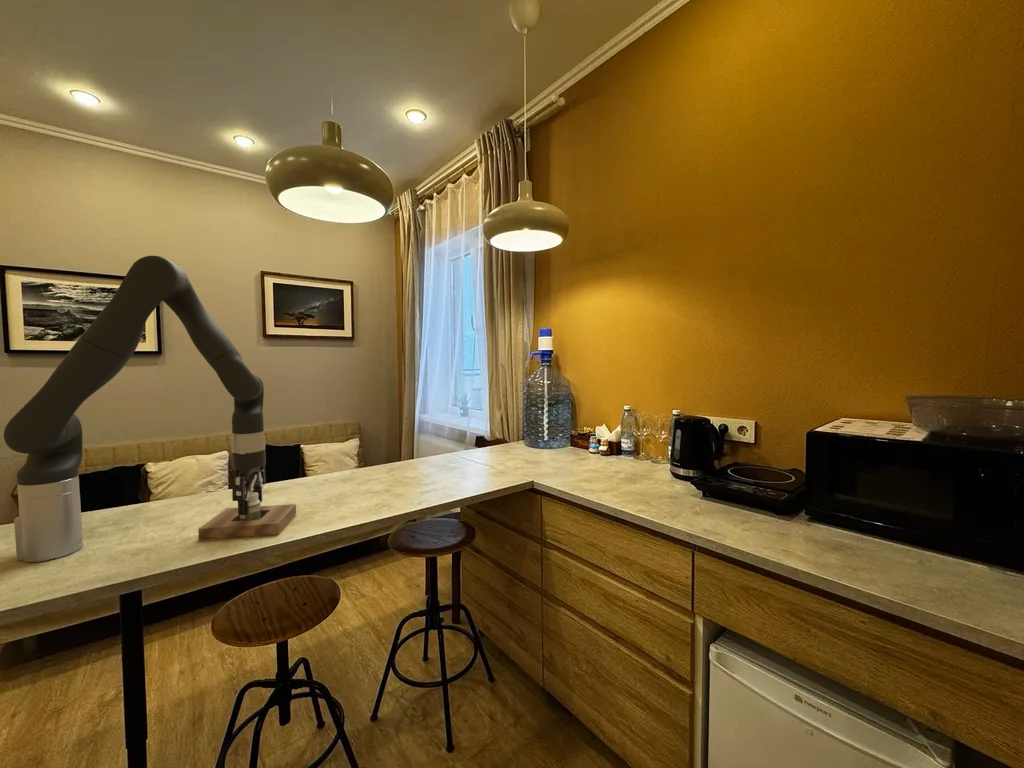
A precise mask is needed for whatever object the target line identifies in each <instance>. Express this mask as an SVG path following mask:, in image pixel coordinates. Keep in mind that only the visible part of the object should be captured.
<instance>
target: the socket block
mask: <svg viewBox="0 0 1024 768" xmlns="http://www.w3.org/2000/svg"><path fill="white" fill-rule="evenodd" d="M260 509H261V519H260V520H247V521H240V515H239V514H238V507H226V508H225V509H223V510H222V511H220V512H219V513H218V514H216V515H215V516H214V517H213V518H211V519H209V521H207V522H205V523H204V524H203V525H201V527H199V528H198V541H199V540H201V541H211V540H210V539H215V540H224V539H223V538H228V539H237V538H236V537H242V538H251V537H250V536H256V537H264V536H263V535H269V536H279V535H280V534H281V532H282V531H283V530H284V529H286V527H287V525H288V524H289V523H290V522H291V521H292V520H293V519H294V518H295V516H296V515H297V504H295V503H294V504H291V503H290V504H278V505H277V504H274V505H262V506H261V505H260ZM295 514H296V515H295ZM292 518H293V519H292ZM291 519H292V520H291Z"/></svg>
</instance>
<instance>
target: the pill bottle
mask: <svg viewBox="0 0 1024 768" xmlns="http://www.w3.org/2000/svg"><path fill="white" fill-rule="evenodd" d="M245 494H246V492H245ZM248 500H249V513H248V514H247V515H240V521H247V520H260V519H261V509H260V506H261V503H260V500H258V493H257V492H250V494H249V498H248Z"/></svg>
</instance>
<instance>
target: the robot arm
mask: <svg viewBox="0 0 1024 768" xmlns="http://www.w3.org/2000/svg"><path fill="white" fill-rule="evenodd" d="M188 276H189V275H188V274H187V272H186V271H185V270H184V269H183V268H182V267H181V266H180V265H179V264H177V263H175V262H173V261H171V260H170V259H167V258H166V257H162V256H159V255H147V256H146V255H145V256H143V257H140V258H139V259H137V260H136V261H134V263H133V264H132V265H131V266H130V268H129V269H128V271H127V273H126V275H125V276H124V278H123V280H122V282H121V283H120V285H119V286H118V289H117V290H116V292H115V293H114V295H113V296H112V297H111V299H110V301H109V302H108V303H107V304H106V305H105V307H104V308H103V309H102V310H101V311H100V312H99V314H98V315H97V316H96V317H95V319H94V320H93V321H92V322H91V324H90V325H89V326H88V327H87V329H86V330H84V332H83V333H81V335H80V337H78V339H77V341H76V342H75V343H74V345H73V346H72V347H71V349H70V350H69V351H68V352H67V354H66V355H65V357H64V358H63V359H62V360H61V362H60V363H59V365H58V366H57V367H56V368H55V370H54V371H53V372H52V373H51V375H50V376H49V378H48V379H47V380H46V382H45V383H44V384H43V386H42V387H40V389H39V390H38V391H37V392H36V393H35V394H34V395H33V397H32V398H30V400H29V401H28V402H27V403H25V405H24V406H23V407H21V409H19V411H17V413H15V414H14V415H13V416H12V418H10V420H9V421H7V424H6V426H5V428H4V430H3V439H4V443H5V445H6V446H7V447H8V448H9V449H10V450H12V451H14V452H16V453H19V454H27V455H28V457H27V460H26V462H25V463H24V464H23V466H22V467H21V468H19V470H18V471H17V473H16V483H17V496H18V497H17V501H18V514H19V516H16V517H15V518H14V519H13V524H14V525H13V526H14V540H15V541H14V542H15V551H16V553H15V554H16V561H23V562H24V563H25V562H26V563H38V562H44V561H49V560H50V559H51V560H54V558H55V559H59V558H61V557H64V556H68V555H71V554H74V553H75V552H77V551H79V550H81V549H82V548H83V547H84V542H83V541H84V540H83V525H82V523H83V522H82V509H81V507H82V506H81V505H82V504H81V493H80V478H79V477H80V476H79V475H80V473H79V469H80V466H81V464H82V461H83V427H82V424H81V421H80V419H79V417H78V416H77V415H76V412H77V410H78V409H79V408H80V406H81V405H82V404H83V403H84V402H85V401H86V400H88V398H89V397H91V396H92V395H93V394H95V393H96V392H97V391H99V390H100V389H101V388H103V387H104V386H105V385H106V384H108V383H109V382H110V381H111V380H113V379H114V378H115V377H116V376H117V375H118V374H119V372H120V371H122V369H123V368H124V367H125V365H126V364H127V363H128V361H130V359H131V358H132V356H133V354H134V353H135V352H136V349H137V348H138V346H139V343H140V341H141V338H142V334H143V331H144V328H145V325H146V323H147V320H148V318H149V317H150V315H151V314H152V313H153V312H154V311H155V310H156V308H157V307H158V306H159V305H160V304H161V302H163V303H165V305H167V307H168V308H170V310H171V311H172V312H173V313H174V314H175V315H176V316H177V318H178V319H179V320H180V322H181V323H182V325H183V327H184V328H185V330H186V332H187V334H188V336H189V337H190V340H191V341H192V343H193V345H194V347H195V348H196V349H197V351H198V352H199V353H200V354H201V356H202V357H203V358H204V360H205V361H206V362H207V364H208V365H209V366H210V367H211V368H212V369H213V370H214V372H215V373H216V375H217V376H218V378H219V380H220V381H221V383H222V385H223V386H224V388H225V389H226V391H227V392H228V393H229V395H230V396H232V397H233V402H234V403H233V407H234V408H233V409H234V410H233V413H232V415H231V433H232V434H231V467H232V469H234V470H238V471H239V472H238V476H234V477H232V479H231V482H232V483H231V484H232V486H231V489H232V490H231V491H232V502H237V508H238V514H239V515H247V514H248V513H249V500H248V498H249V494H250V492H257V493H258V500H260V504H261V503H262V502H263V489H264V485H266V482H267V480H266V463H267V459H266V458H267V456H266V455H267V454H266V437H265V429H264V426H265V425H264V415H263V414H264V410H263V408H264V394H265V391H264V383H263V380H262V378H261V377H259V376H258V375H256V374H254V373H252V372H251V370H250V369H249V368H248V366H247V365H246V364H245V363H244V361H243V357H242V355H241V354H240V352H239V351H238V349H237V348H236V346H235V345H234V344H233V343H232V342H231V340H230V339H229V337H228V336H227V335H226V334H225V332H224V331H223V330H222V329H221V327H220V326H219V324H218V323H217V322H216V321H215V319H214V318H213V317H212V316H211V314H210V313H209V311H208V310H207V309H206V307H205V305H204V304H203V302H202V301H201V299H200V297H199V295H198V294H197V292H196V289H195V288H194V286H193V284H192V282H191V280H190V279H189V277H188ZM245 493H246V494H245Z"/></svg>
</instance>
